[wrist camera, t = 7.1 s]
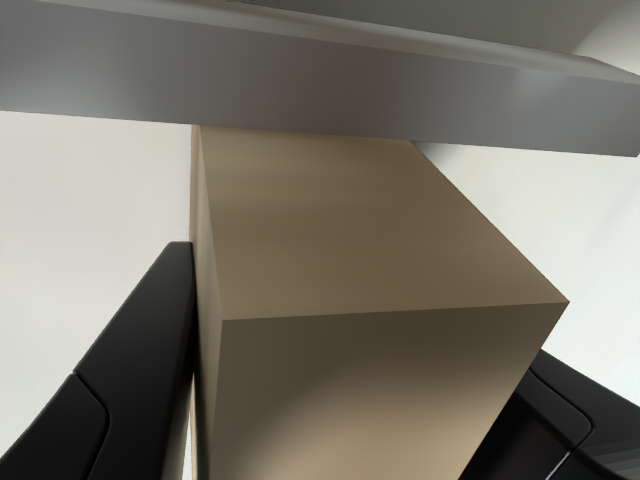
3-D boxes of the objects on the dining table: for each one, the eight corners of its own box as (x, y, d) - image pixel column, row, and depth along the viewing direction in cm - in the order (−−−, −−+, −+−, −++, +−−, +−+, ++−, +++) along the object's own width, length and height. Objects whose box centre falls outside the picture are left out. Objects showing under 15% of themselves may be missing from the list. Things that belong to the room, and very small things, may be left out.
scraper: (-34, 335, 10) (-229, 739, 5) (-176, -69, 6) (-1677, 54, 1) (455, 309, 13) (607, 528, 9) (573, 51, 9) (968, 197, 5)
